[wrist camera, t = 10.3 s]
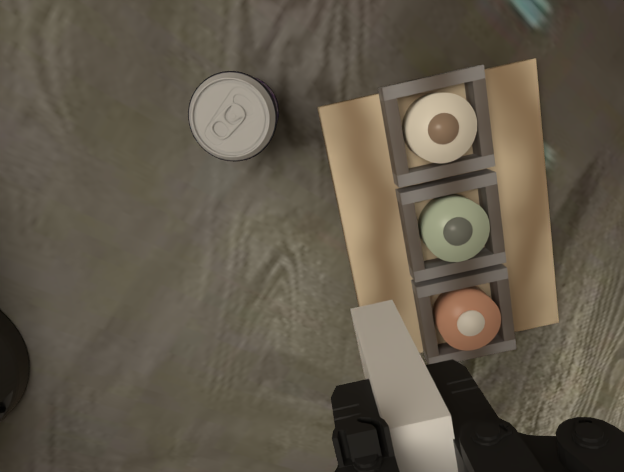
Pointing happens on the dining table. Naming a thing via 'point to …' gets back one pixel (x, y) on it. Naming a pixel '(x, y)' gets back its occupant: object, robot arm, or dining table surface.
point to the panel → (440, 182)
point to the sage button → (453, 227)
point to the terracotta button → (466, 318)
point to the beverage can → (233, 115)
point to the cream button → (439, 127)
